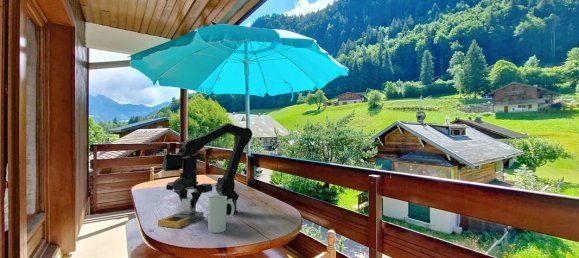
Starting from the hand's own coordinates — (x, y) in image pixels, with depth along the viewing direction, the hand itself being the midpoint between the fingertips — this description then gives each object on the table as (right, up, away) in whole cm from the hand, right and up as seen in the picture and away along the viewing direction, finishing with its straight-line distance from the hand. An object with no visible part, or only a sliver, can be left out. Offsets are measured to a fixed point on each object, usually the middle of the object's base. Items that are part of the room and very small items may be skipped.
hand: (188, 207), depth 129 cm
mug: (+17, -5, -14) cm, 22 cm away
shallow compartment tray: (-1, -4, -4) cm, 6 cm away
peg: (0, -3, 0) cm, 3 cm away
